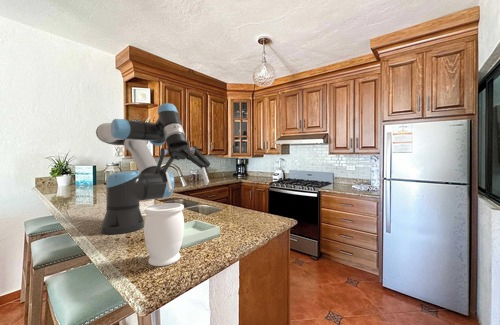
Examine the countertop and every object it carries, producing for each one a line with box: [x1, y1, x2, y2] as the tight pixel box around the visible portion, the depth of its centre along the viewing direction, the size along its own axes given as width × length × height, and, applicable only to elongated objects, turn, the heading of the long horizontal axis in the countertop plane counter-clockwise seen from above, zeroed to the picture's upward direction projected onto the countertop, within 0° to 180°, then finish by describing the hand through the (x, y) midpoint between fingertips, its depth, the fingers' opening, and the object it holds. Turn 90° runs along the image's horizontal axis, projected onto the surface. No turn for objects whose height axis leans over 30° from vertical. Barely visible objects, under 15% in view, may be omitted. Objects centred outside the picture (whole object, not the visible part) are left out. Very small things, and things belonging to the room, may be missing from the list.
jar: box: [143, 202, 185, 267], centre depth 61 cm, size 11×10×15 cm
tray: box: [180, 219, 221, 250], centre depth 79 cm, size 14×15×4 cm
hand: (189, 187), depth 78 cm, fingers open, 13 cm apart
